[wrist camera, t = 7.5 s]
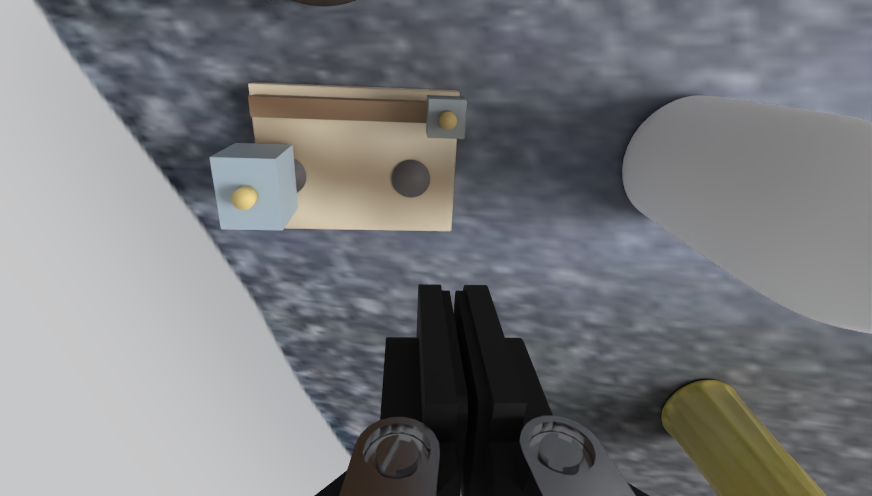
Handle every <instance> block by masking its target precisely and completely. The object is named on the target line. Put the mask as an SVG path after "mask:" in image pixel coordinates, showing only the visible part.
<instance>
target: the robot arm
mask: <svg viewBox="0 0 872 496" xmlns="http://www.w3.org/2000/svg"><path fill="white" fill-rule="evenodd" d="M460 490H461V493H462V496H649V495H647V494H645V493H644V492H642V491H640V490H639V489H637V488H636V487H634V486H632V485H631V484H629V483H627V482H626V480H625V479H624V477H623V476H622V474H621V473H620V471H619V470H618V468H617V467H616V465H615V464H614V462H613V461H612V459H611V458H610V456H609V455H608V453H607V452H606V450H605V449H604V447H603V446H602V444H601V443H600V441H599V440H598V439H597V438H596V437H595V436H594V434H593V433H592V432H591V431H590V430H588V429H587V428H585V427H584V426H583V425H581V424H580V423H578V422H575V421H573V420H571V419H569V418H565V417H560V416H553V415H552V412H551V410H550V407H549V405H548V402H547V400H546V397H545V395H544V392H543V390H542V387H541V385H540V382H539V379H538V377H537V374H536V372H535V369H534V367H533V364H532V362H531V359H530V357H529V354H528V352H527V349H526V346H525V344H524V342H523V340H522V339H521V338H505V337H504V334H503V331H502V328H501V325H500V322H499V319H498V316H497V313H496V310H495V307H494V304H493V301H492V298H491V295H490V292H489V289H488V287H487V285H464V288H463V291H456V292H455V302H454V313H453V308H452V302H451V296H450V291H442V289H441V285H421V284H419V286H418V311H417V337H386V347H385V361H384V375H383V389H382V403H381V417H380V420H379V421H377V422H376V423H374V424H372V425H370V426H369V427H368V428H367V429H366V430H365V431H364V432H363V433H361V435H360V437H359V438H358V440H357V442H356V444H355V447H354V450H353V454H352V457H351V460H350V463H349V466H348V469H347V471H346V472H344V473H343V474H342V475H341V476H339V477H338V478H337V479H335V480H334V481H333V482H332V483H330V484H329V485H328V486H327V487H325V488H324V489H323V490H321V491H320V492H319V493H318V494H316V495H315V496H460Z"/></svg>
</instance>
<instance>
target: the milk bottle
mask: <svg viewBox="0 0 872 496" xmlns="http://www.w3.org/2000/svg"><path fill="white" fill-rule="evenodd" d="M622 174H623V184H624V188H625V191H626V194H627V196H628V198H629V200H630V201H631V203H632V204H633V205H634V207H635V208H636V209H638V210H639V211H640V212H641V213H642V214H644V215H645V216H646V217H648V218H649V219H650V220H652V221H653V222H655V223H656V224H658V225H659V226H660V227H662V228H663V229H665V230H666V231H668V232H669V233H671V234H672V235H673V236H675V237H676V238H678V239H679V240H681V241H682V242H684V243H685V244H687V245H688V246H689V247H691V248H692V249H694V250H695V251H697V252H698V253H700V254H701V255H703V256H704V257H706V258H707V259H709V260H710V261H712V262H713V263H715V264H716V265H718V266H719V267H721V268H722V269H724V270H725V271H726V272H728V273H729V274H731V275H732V276H734V277H735V278H737V279H738V280H740V281H741V282H743V283H745V284H746V285H748V286H749V287H751V288H753V289H754V290H756V291H758V292H759V293H761V294H762V295H764V296H766V297H767V298H769V299H771V300H772V301H774V302H776V303H778V304H780V305H782V306H784V307H786V308H788V309H790V310H792V311H794V312H796V313H798V314H801V315H804V316H806V317H809V318H811V319H814V320H817V321H819V322H823V323H826V324H830V325H833V326H837V327H841V328H845V329H850V330H855V331H860V332H866V333H872V121H870V120H865V119H860V118H855V117H849V116H842V115H836V114H830V113H824V112H817V111H811V110H805V109H799V108H792V107H786V106H779V105H772V104H766V103H759V102H752V101H746V100H739V99H732V98H725V97H717V96H705V95H695V96H688V97H684V98H681V99H678V100H675V101H673V102H670V103H669V104H667V105H665V106H663V107H661V108H660V109H659V110H657V111H656V112H654V113H653V114H652V115H650V116H649V117H648V118H647V119H646V120H645V121H644V122H643V123H642V124H641V125H640V127H639V128H638V129H637V131H636V132H635V133H634V135H633V136H632V138H631V141H630V143H629V144H628V146H627V149H626V153H625V156H624V159H623V168H622Z"/></svg>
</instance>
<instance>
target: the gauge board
mask: <svg viewBox="0 0 872 496" xmlns="http://www.w3.org/2000/svg"><path fill="white" fill-rule="evenodd" d="M248 86H249V95H250V96H248V101H249V110H250V117H252V120H253V128H254V137H255V143H258V144H290V145H293V154H294V165H295V177H296V189H297V200H298V209H297V210H296V212H295V213H294V215H293V216H292V218H291V219H290V221H289V222H288V224H287V225H286V226H285V228H290V229H350V230H410V231H451V225H452V209H453V193H454V177H455V160H456V144H457V139H465V125H466V110H467V100H466V99H465V98H464V97H462V96H459V95H460V92H459V91H457V90H435V89H411V88H386V87H362V86H337V85H313V84H288V83H264V82H254V83H249V84H248Z"/></svg>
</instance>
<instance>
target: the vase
mask: <svg viewBox="0 0 872 496" xmlns="http://www.w3.org/2000/svg"><path fill="white" fill-rule="evenodd" d="M661 419H662V424H663V427H664V428H665V430H666V431H667V432H668V433H669V434H670V435H671V436H672V437H674V438H675V439H676V440H677V442H678V443H679V444H680V445H681V447H682V448H683V449H684V450H685V452H686V453H687V454H688V455H689V457H690V458H691V459H692V461H693V462H694V463H695V465H696V466H697V467H698V469H699V470H700V472H701V473H702V474H703V476H704V477H705V478H706V480H707V481H708V482H709V484H710V485H711V487H712V488H713V490H714V491H715V493H716V494H717V495H718V496H827V495H826V494H825V493H824V492H823V491H822V490H821V489H820V488H819V486H818V485H817V484H816V483H815V482H814V481H813V480H812V479H811V478H810V477H809V475H808V474H807V473H806V472H805V471H804V470H803V469H802V468H801V467H800V466H799V464H798V463H797V462H796V461H795V460H794V459H793V458H792V457H791V456H790V455H789V454H788V453H787V452H786V451H785V450H784V448H783V447H782V446H781V445H780V444H779V443H778V442H777V440H776V439H775V438H774V437H773V436H772V434H771V433H770V432H769V431H768V429H767V428H766V427H765V426H764V425H763V424H762V422H761V421H760V420H759V419H758V418H757V417H756V416H755V415H754V413H753V412H752V411H751V410H750V409H749V408H748V407H747V406H746V404H745V403H744V402H743V401H742V400H741V399H740V398H739V396H738V395H737V393H736V391H735V390H734V389H733V388H732V387H730V386H729V385H727V384H725V383H723V382H720V381H717V380H700V381H696V382H693V383H690V384H688V385H686V386H684V387H682V388H680V389H679V390H677V391H676V392H675V393H674V394H673V395H672V396H671V397H670V398H669V399H668V400H667V402H666V404H665V405H664V407H663V410H662V416H661Z"/></svg>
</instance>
